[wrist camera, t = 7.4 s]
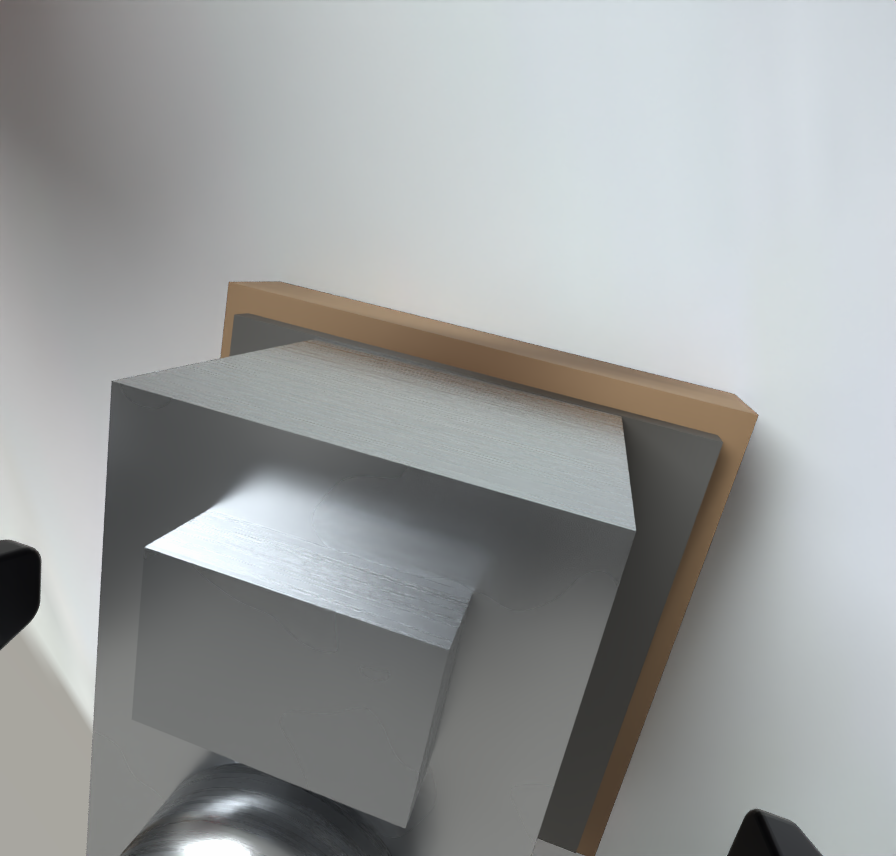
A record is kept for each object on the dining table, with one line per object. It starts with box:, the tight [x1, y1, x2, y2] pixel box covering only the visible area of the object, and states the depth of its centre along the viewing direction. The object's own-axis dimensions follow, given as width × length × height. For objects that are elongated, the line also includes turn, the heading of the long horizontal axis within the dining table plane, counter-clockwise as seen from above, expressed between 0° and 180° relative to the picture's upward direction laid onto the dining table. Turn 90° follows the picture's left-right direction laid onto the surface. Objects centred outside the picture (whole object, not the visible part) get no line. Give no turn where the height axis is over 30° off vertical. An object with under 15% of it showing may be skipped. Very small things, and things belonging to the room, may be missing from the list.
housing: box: [86, 339, 636, 856], centre depth 7 cm, size 4×7×5 cm, turn 168°
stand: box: [221, 282, 758, 856], centre depth 11 cm, size 8×8×2 cm
